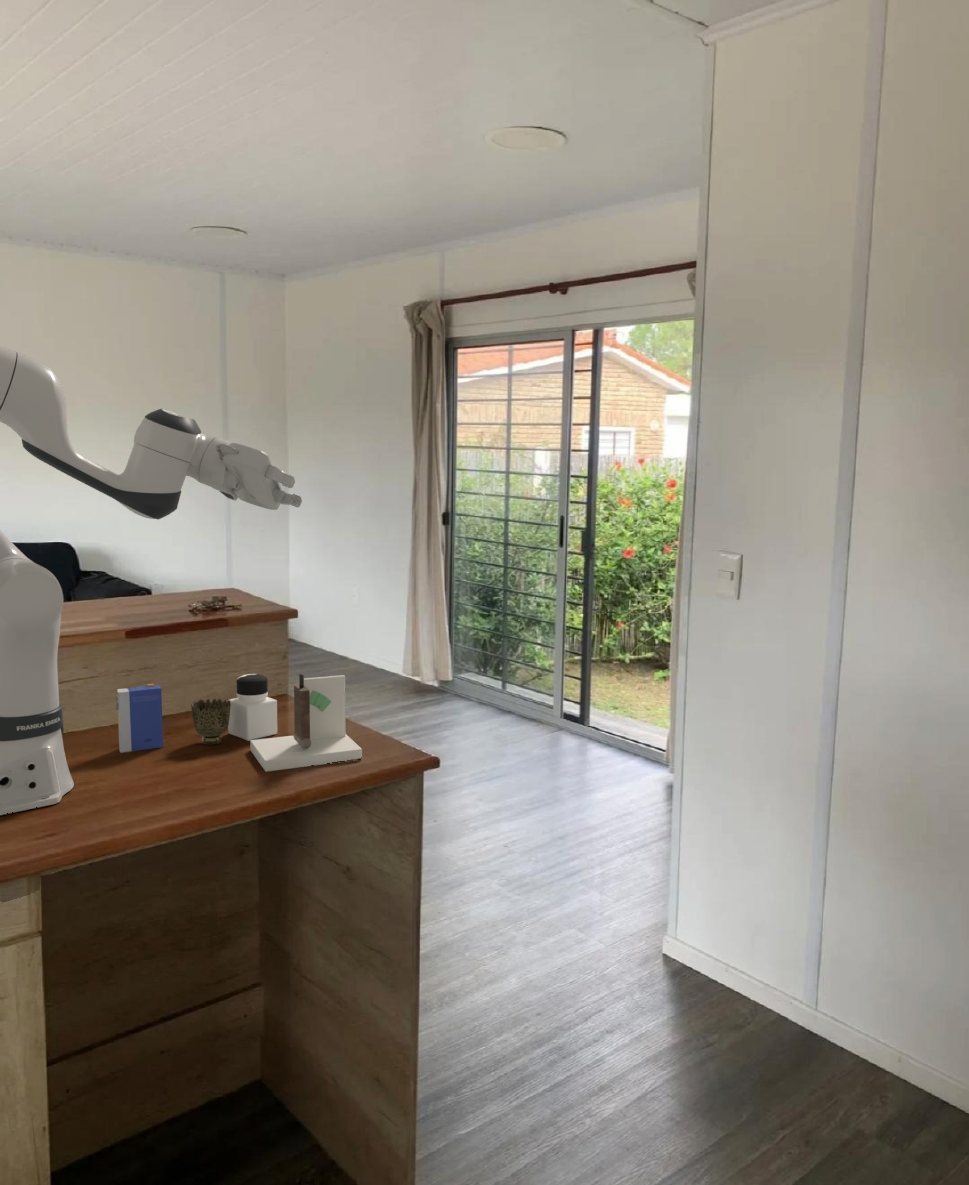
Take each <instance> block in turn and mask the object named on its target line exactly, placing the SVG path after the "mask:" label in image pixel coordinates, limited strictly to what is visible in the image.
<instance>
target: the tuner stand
mask: <svg viewBox="0 0 969 1185" xmlns="http://www.w3.org/2000/svg"><path fill="white" fill-rule="evenodd" d="M304 686H305V687H306V688H307V689H309V690H310V741H311V746H310V747H309V748H308V749H303V748H302V747H301V746H300V745H299V744H298V743H297V742H296V740H295V739H294V734H293V735H288V736H287V735H286V736H277V737H276V736H275V737H268V738H258V739H254V740H250V741H249V742H250V752H251V753H252V754H253V756H254V758H255V759H256V760H257V762H258V763H259V764H260V766H261V767H262V768H263V770H264V772H274V771H281V770H288V769H289V770H290V769H297V768H304V767H312V766H311V765H314V766H319V765H320V766H322V765H328V764H327V763H330V764H333V763H332V762H337V761H345V762H348V761H347V760H351V759H358V758H361V757H362V758H363V749H362V748H361V747H360V746H359V745H358V744H357V743H356V742H355V741H354V740H353V739H352V738H351V737H350V736H348V735H347V733H346V675H344V674H340V675H330V676H318V677H308V678H305V677H304Z"/></svg>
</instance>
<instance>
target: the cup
mask: <svg viewBox="0 0 969 1185" xmlns="http://www.w3.org/2000/svg"><path fill="white" fill-rule="evenodd" d="M228 700H229V699H228ZM228 700H227V699H224V700H223V701H222V700H221V698H218V699H217V698H213V699H212V701H211V700H210V698H208V699H206V701H204V699H198V700H197V701H194V700H193V704H190V708H191V714H192V721H193V725H194V726H193V727H194V730H195V731H196V733H197V734H198V735H200V736H202V737H201V741H202V743H203V744H205V745H217V744H219V743H221V742H222V740H223V739H222V738H223V737H222V735H224V733H225V732H227V730H228V724H229V717H230V706H231V704H230V700H229V701H228Z"/></svg>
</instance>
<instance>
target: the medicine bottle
mask: <svg viewBox="0 0 969 1185" xmlns="http://www.w3.org/2000/svg"><path fill="white" fill-rule="evenodd" d="M268 681H269V680H268V677H267V676H265V675H263V674H259V673H249V674H242V675H241V676H239V677H237V679H236V698H229V699H228V700H227V702H228V701H229V700H230V704H231V706H230V717H229V724H228V728H227V730H228V734H230V735H232V736H235V737H238V738H240V739H242V740H245V741H248V742H250V740H258V739H263V738H266V737H270V736H274V735H277V734H278V700H277V699H274V698H271V697H269V696H268V695H269V694H268V693H269V692H268V690H269V686H268Z"/></svg>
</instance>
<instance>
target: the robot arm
mask: <svg viewBox="0 0 969 1185" xmlns="http://www.w3.org/2000/svg"><path fill="white" fill-rule="evenodd" d="M0 423H3V424H4V425H6V426H8V427H9V428H10V429H12V430H13V431H14V432H15V433H16V434H17V435H18V436H19V437H20V438H21V443H22V447H23V448H24V450H25V451H26V452H27V453H29V454H30V455H32V456H33V457H34V458H36V459H38V460H40V461H41V462H43V463H45V464H46V465H48V466H50V467H52V468H54V469H56V470H57V471H60V472H61V473H63V474H65V475H67V476H69V477H71V478H73V479H75V480H77V482H78V481H79V482H80V483H82V484H84V485H86V486H89V487H90V488H92V489H94V490H96V491H98V492H99V493H102V494H104V495H106V496H108V497H110V498H111V499H113V500H114V501H116V502H118V503H119V504H121V506H123V507H125V508H126V509H127V510H129V511H130V512H131V513H134V514H136V515H138V516H140V517H142V518H146V519H152V520H157V521H158V520H161V519H163V518H165V517H168V515H171V514H172V513H173V512H175V511H176V510H177V509H178V507H179V502H180V497H181V495H182V489H183V486H184V482H185V479H186V477H190V478H193V479H194V480H195V481H197V482H198V483H200V484H202V485H205V486H208V487H210V488H212V489H214V490H216V491H218V492H220V493H221V494H222V495H223V496H225V498H227V499H228V500H232V501H238V499H239V500H240V501H242V502H245V503H247V504H249V505H254V506H256V507H259V508H262V509H267V510H269V511H271V510H272V511H273V510H274V511H276V510H278V509H279V507H280V505H286V506H292V507H295V508H300V507H301V505H302V502H303V499H302V496H300V495H298V494H295V493H292V494H291V493H287V492H286V491H284V490H282V488H281V486H283V487H285V488H286V487H287V488H288V489H292V488H294V486H295V483H296V480H295V477H294V476H293V475H290V474H288V473H286V472H284V471H283V470H281V469H280V468H278V467H276V466H274V465H272V462H271V459H270V457H269V455H268V454H267V453H266V452H265V451H262V450H260V449H257V448H254V447H252V446H251V447H250V446H248V445H244V444H242V443H238V442H232V441H230V440H227V439H225V438H221V437H219V436H214V435H213V436H212V435H206V434H204V433H203V432H202V430H201V428H200V426H199V425H198V423H197V422H196V420H195V419H194V418H188V417H184V416H181V415H179V414H177V413H175V412H173V411H172V410H170V409H168V408H162V407H161V408H160V409H159V408H158V409H157V410H156V409H155V410H154V411H151V412H149V413H147V414H146V415H144V417H143V419H142V420H141V422H140V424H139V426H137V429H136V430H135V433H134V437H133V447H132V449H131V452H130V455H129V458H128V460H127V464H126V465H125V468H124V469H123V472H121V473H120V474H117V473H115V472H113V471H111V470H109V469H107V468H106V467H104V466H102V465H100V464H98V463H96V462H94V461H92V460H90V459H89V458H87V457H85V456H83V455H81V454H80V453H78V452H77V451H76V449H75V448H74V447H73V445H72V444H71V441H70V438H69V432H68V424H67V404H66V398H65V393H64V390H63V386H62V383H61V382H60V380H59V378H58V377H57V375H56V373H55V372H54V371H53V370H52V369H51V368H50V367H48V366H47V365H45V364H44V363H42V362H40V361H38V360H36V359H34V358H32V357H30V356H27V355H25V354H23V353H20V352H18V351H16V350H12V349H10V348H7V347H4V346H1V345H0ZM63 607H64V593H63V588H62V586H61V584H60V582H59V580H58V579H57V577H56V576H55V575H54V574H53V573H52V572H51V571H50V570H48V569H47V568H45V567H44V566H42V565H40V564H37V563H36V562H34V561H33V560H31V559H30V558H28V557H27V556H26V555H25V554H24V553H23V552H22V551H21V550H20V549H19V548H18V547H17V546H16V545H15V544H14V543H13V542H12V541H11V540H10V539H9V538H8V536H6V535H5V534H4V533H3V532H2V531H1V530H0V816H3V815H4V816H5V815H8V814H12V812H13V813H18V812H23V811H27V810H30V809H37V808H42V807H46V806H51V805H56V804H57V803H60V802H61V801H62V797H63V796H65V794H67V793H68V792H70V791H71V790H72V789H73V788H74V785H75V783H74V780H73V777H72V774H71V773H70V769H69V765H68V762H67V758H66V753H65V749H64V748H65V747H64V741H63V735H64V715H63V713H64V712H63V705H62V704H61V703H60V697H59V696H60V695H59V693H60V690H59V675H58V671H59V670H58V654H59V652H58V651H59V644H60V635H61V634H60V633H61V623H62V610H63ZM36 807H37V808H36ZM7 813H8V814H7Z"/></svg>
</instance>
